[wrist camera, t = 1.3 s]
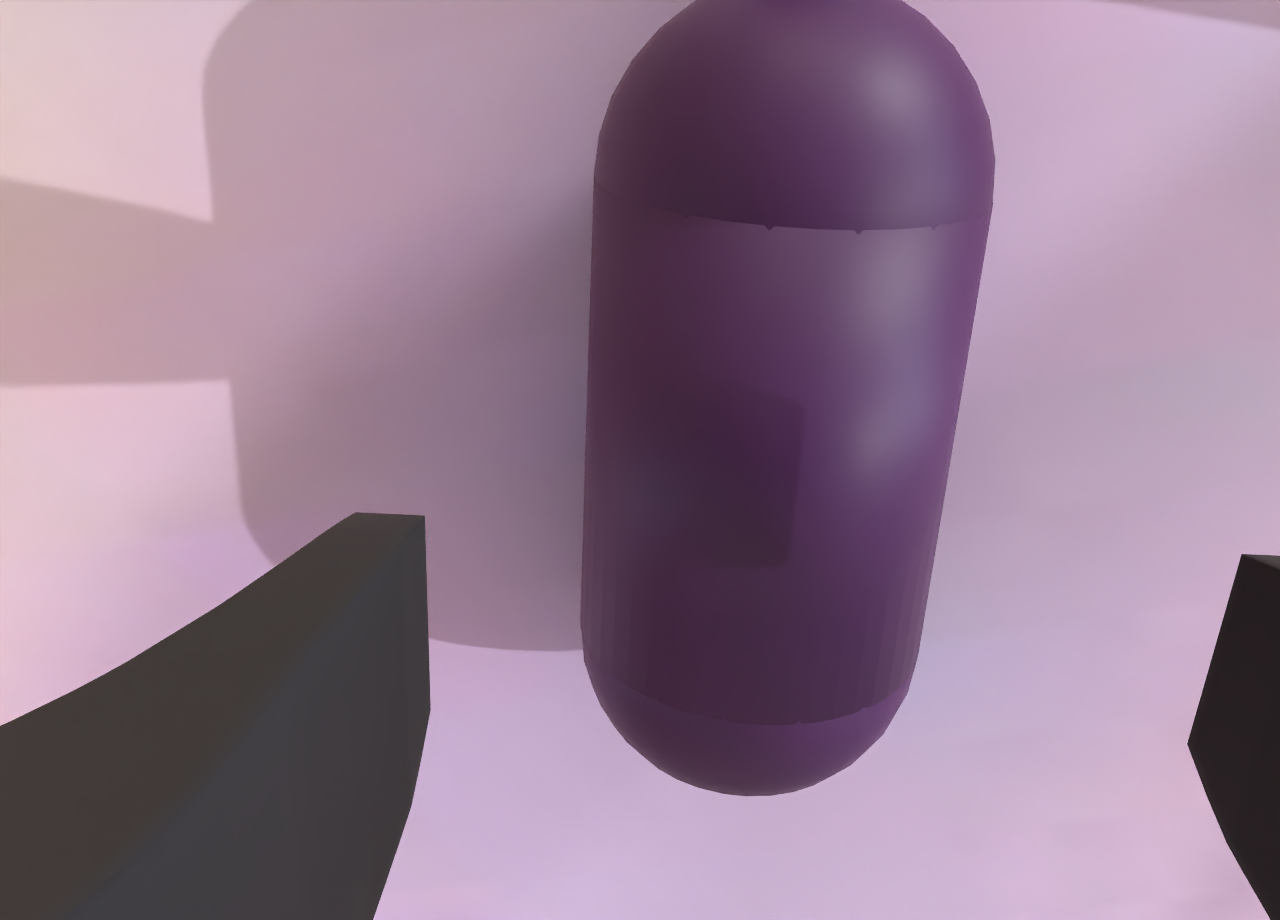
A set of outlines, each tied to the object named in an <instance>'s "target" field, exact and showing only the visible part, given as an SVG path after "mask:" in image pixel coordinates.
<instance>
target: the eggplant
mask: <svg viewBox="0 0 1280 920" xmlns="http://www.w3.org/2000/svg"><path fill="white" fill-rule="evenodd" d="M994 173H995V155H994V148H993V141H992V133H991V126H990V120H989V117H988V114H987V111H986V109H985V106H984V103H983V100H982V97H981V95H980V92H979V89H978V86H977V83H976V81H975V79H974V78H973V76H972V75H971V73H970V71H969V70H968V68H967V66H966V65H965V63H964V62H963V60H962V58H961V57H960V55H959V54H958V52H957V50H956V49H955V47H954V46H953V45H952V44H951V43H950V42H949V41H948V40H947V39H946V37H945V36H944V35H943V34H942V33H941V32H940V31H939V30H938V29H937V28H936V27H935V26H934V25H933V24H932V23H931V22H930V21H929V20H928V19H927V18H926V17H925V16H924V15H922V14H921V13H919V12H918V11H916V10H915V9H913V8H912V7H910V6H909V5H907V4H906V3H904V2H903V1H901V0H697V1H695V2H693V3H692V4H690V5H689V6H688V7H687V8H685V9H684V10H683V11H681V12H680V13H679V14H678V15H676V16H675V17H674V18H673V19H671V20H670V21H669V22H667V23H666V24H665V25H664V26H662V27H661V28H660V29H659V30H658V31H657V32H656V33H655V34H654V36H653V37H652V38H651V39H650V40H649V41H648V43H647V44H646V45H645V46H644V47H643V48H642V50H641V51H640V52H639V53H638V54H637V55H636V57H635V58H634V59H633V60H632V62H631V63H630V65H629V67H628V69H627V70H626V72H625V74H624V76H623V77H622V79H621V81H620V83H619V85H618V86H617V88H616V90H615V92H614V93H613V95H612V97H611V100H610V103H609V106H608V109H607V112H606V115H605V118H604V121H603V124H602V127H601V130H600V133H599V139H598V147H597V155H596V162H595V170H594V191H593V224H592V257H591V289H590V322H589V355H588V387H587V420H586V452H585V485H584V518H583V550H582V583H581V630H582V639H583V651H584V662H585V665H586V668H587V671H588V674H589V677H590V680H591V683H592V686H593V689H594V691H595V693H596V695H597V698H598V700H599V702H600V705H601V706H602V708H603V709H604V711H605V713H606V714H607V716H608V717H609V719H610V720H611V722H612V723H613V725H614V727H615V728H616V729H617V730H618V732H619V733H620V734H621V735H622V737H623V738H624V739H625V740H626V742H627V743H629V744H630V745H631V746H632V747H633V748H634V749H636V750H637V751H638V752H639V753H640V754H641V755H642V756H644V757H645V758H646V759H647V760H648V761H650V762H651V763H652V764H653V765H655V766H656V767H657V768H658V769H660V770H662V771H663V772H665V773H667V774H669V775H670V776H672V777H674V778H676V779H677V780H680V781H683V782H685V783H688V784H690V785H693V786H696V787H698V788H702V789H706V790H710V791H714V792H719V793H723V794H731V795H740V796H771V795H777V794H783V793H789V792H794V791H797V790H800V789H804V788H807V787H810V786H813V785H815V784H817V783H819V782H821V781H822V780H824V779H826V778H828V777H830V776H832V775H834V774H836V773H837V772H839V771H841V770H843V769H845V768H847V767H848V766H850V765H851V764H852V763H853V762H855V761H856V760H857V759H858V758H859V757H860V756H861V755H862V754H863V753H865V752H866V751H867V750H868V749H869V748H870V747H871V746H872V745H873V744H874V743H875V742H876V741H877V740H878V739H879V738H880V737H881V736H882V735H883V734H884V732H885V730H886V729H887V727H888V725H889V724H890V722H891V720H892V719H893V717H894V715H895V714H896V712H897V710H898V708H899V707H900V705H901V703H902V702H903V700H904V698H905V696H906V695H907V692H908V689H909V685H910V682H911V679H912V675H913V672H914V668H915V665H916V661H917V657H918V652H919V646H920V640H921V634H922V628H923V622H924V616H925V610H926V604H927V598H928V592H929V586H930V580H931V574H932V568H933V562H934V556H935V550H936V544H937V538H938V532H939V526H940V520H941V514H942V508H943V502H944V496H945V489H946V483H947V477H948V471H949V465H950V459H951V453H952V447H953V441H954V435H955V429H956V423H957V417H958V411H959V405H960V399H961V393H962V387H963V381H964V375H965V369H966V363H967V357H968V351H969V345H970V339H971V333H972V327H973V321H974V315H975V309H976V303H977V297H978V291H979V285H980V279H981V273H982V267H983V261H984V255H985V249H986V243H987V237H988V231H989V225H990V219H991V212H992V206H993V188H994Z"/></svg>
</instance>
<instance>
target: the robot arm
mask: <svg viewBox="0 0 1280 920" xmlns="http://www.w3.org/2000/svg"><path fill="white" fill-rule="evenodd" d="M429 715H430V676H429V643H428V610H427V577H426V544H425V516H420V515H399V514H378V513H354V514H352V515H350V516H349V517H347V518H345V519H343V520H342V521H340V522H339V523H337V524H336V525H334V526H333V527H331V528H330V529H328V530H327V531H325V532H324V533H323V534H321V535H320V536H318V537H317V538H315V539H314V540H313V541H311V542H310V543H308V544H307V545H306V546H304V547H303V548H301V549H300V550H299V551H297V552H296V553H294V554H293V555H291V556H290V557H289V558H287V559H286V560H284V561H283V562H282V563H280V564H279V565H277V566H276V567H274V568H273V569H271V570H270V571H269V572H267V573H266V574H264V575H263V576H261V577H260V578H258V579H257V580H255V581H254V582H253V583H251V584H250V585H248V586H247V587H245V588H244V589H242V590H241V591H239V592H238V593H237V594H235V595H234V596H232V597H231V598H229V599H228V600H226V601H225V602H223V603H222V604H220V605H219V606H217V607H216V608H214V609H212V610H211V611H209V612H208V613H206V614H204V615H203V616H201V617H199V618H198V619H196V620H195V621H193V622H191V623H190V624H188V625H186V626H185V627H183V628H181V629H180V630H178V631H177V632H175V633H173V634H172V635H170V636H168V637H167V638H165V639H164V640H162V641H160V642H159V643H157V644H155V645H154V646H152V647H150V648H149V649H147V650H146V651H144V652H142V653H141V654H139V655H137V656H136V657H134V658H133V659H131V660H129V661H128V662H126V663H124V664H122V665H120V666H119V667H117V668H115V669H113V670H111V671H110V672H108V673H106V674H104V675H102V676H100V677H98V678H97V679H95V680H93V681H91V682H89V683H87V684H85V685H83V686H81V687H80V688H78V689H76V690H74V691H72V692H70V693H68V694H66V695H64V696H62V697H60V698H58V699H56V700H53V701H51V702H49V703H47V704H45V705H43V706H41V707H39V708H37V709H35V710H33V711H31V712H29V713H27V714H25V715H23V716H21V717H19V718H17V719H14V720H12V721H10V722H8V723H6V724H4V725H1V726H0V920H373V918H374V915H375V912H376V909H377V906H378V904H379V901H380V898H381V895H382V892H383V889H384V886H385V883H386V880H387V877H388V874H389V871H390V868H391V865H392V862H393V859H394V856H395V854H396V851H397V848H398V845H399V842H400V839H401V836H402V833H403V830H404V827H405V824H406V821H407V818H408V814H409V811H410V808H411V805H412V800H413V795H414V791H415V786H416V781H417V776H418V771H419V767H420V762H421V757H422V751H423V746H424V741H425V736H426V730H427V725H428V720H429ZM1188 747H1189V750H1190V752H1191V755H1192V758H1193V760H1194V763H1195V766H1196V768H1197V771H1198V774H1199V776H1200V779H1201V781H1202V784H1203V787H1204V789H1205V792H1206V795H1207V797H1208V800H1209V802H1210V805H1211V807H1212V809H1213V812H1214V814H1215V816H1216V819H1217V821H1218V823H1219V826H1220V828H1221V830H1222V833H1223V835H1224V837H1225V840H1226V842H1227V844H1228V846H1229V848H1230V849H1231V851H1232V853H1233V855H1234V857H1235V858H1236V860H1237V862H1238V864H1239V866H1240V867H1241V869H1242V871H1243V873H1244V874H1245V876H1246V878H1247V880H1248V881H1249V883H1250V885H1251V887H1252V888H1253V890H1254V892H1255V893H1256V895H1257V897H1258V899H1259V900H1260V902H1261V904H1262V906H1263V907H1264V909H1265V911H1266V913H1267V914H1268V916H1269V918H1270V919H1271V920H1280V556H1271V555H1250V554H1242V555H1241V559H1240V562H1239V566H1238V569H1237V573H1236V576H1235V580H1234V583H1233V586H1232V590H1231V593H1230V597H1229V600H1228V604H1227V607H1226V611H1225V614H1224V618H1223V621H1222V625H1221V628H1220V632H1219V635H1218V639H1217V642H1216V646H1215V649H1214V653H1213V656H1212V660H1211V663H1210V667H1209V670H1208V674H1207V677H1206V681H1205V684H1204V688H1203V691H1202V695H1201V698H1200V702H1199V705H1198V709H1197V712H1196V716H1195V719H1194V723H1193V726H1192V730H1191V733H1190V737H1189V740H1188Z"/></svg>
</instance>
